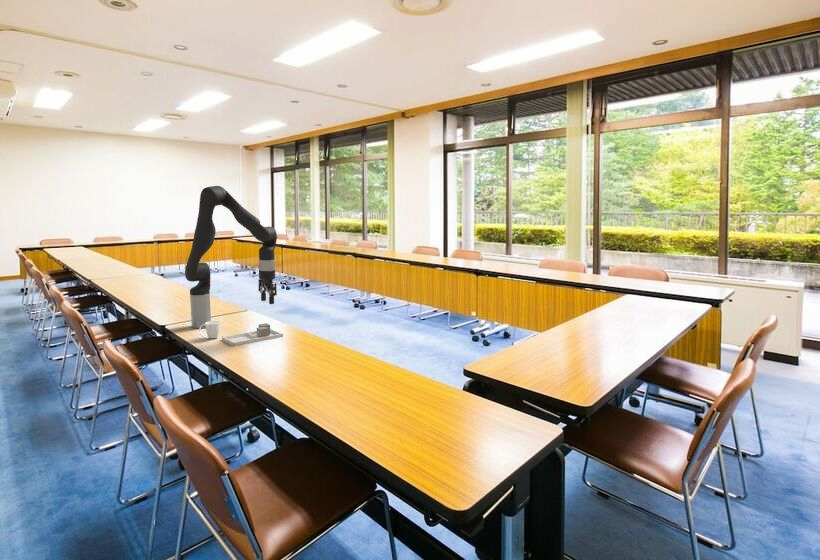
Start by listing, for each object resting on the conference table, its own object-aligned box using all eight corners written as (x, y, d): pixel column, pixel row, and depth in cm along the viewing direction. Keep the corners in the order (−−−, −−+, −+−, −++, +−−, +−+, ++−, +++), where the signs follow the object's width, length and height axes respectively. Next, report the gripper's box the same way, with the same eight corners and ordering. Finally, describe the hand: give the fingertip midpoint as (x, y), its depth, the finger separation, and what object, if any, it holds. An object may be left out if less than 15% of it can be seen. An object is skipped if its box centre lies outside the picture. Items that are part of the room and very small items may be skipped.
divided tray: (222, 340, 215) (221, 336, 215) (270, 332, 232) (270, 328, 231) (233, 347, 206) (233, 342, 206) (282, 337, 222) (282, 333, 222)
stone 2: (256, 338, 219) (256, 327, 218) (264, 336, 222) (264, 326, 221) (260, 340, 216) (260, 329, 215) (268, 338, 219) (268, 328, 218)
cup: (216, 341, 214) (216, 324, 213) (196, 340, 215) (195, 323, 214) (224, 337, 221) (223, 321, 220) (204, 336, 222) (203, 320, 221)
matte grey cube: (258, 334, 225) (258, 324, 225) (266, 333, 228) (266, 323, 227) (262, 336, 223) (262, 326, 222) (270, 334, 225) (270, 324, 225)
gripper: (252, 267, 222) (253, 300, 225) (266, 271, 212) (266, 306, 214) (267, 266, 227) (268, 298, 230) (281, 270, 217) (281, 304, 219)
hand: (267, 302), depth 222 cm, fingers open, 8 cm apart
